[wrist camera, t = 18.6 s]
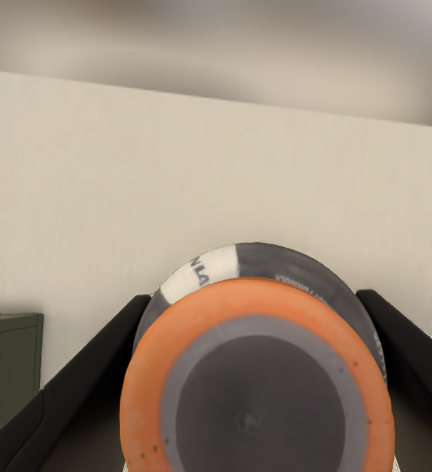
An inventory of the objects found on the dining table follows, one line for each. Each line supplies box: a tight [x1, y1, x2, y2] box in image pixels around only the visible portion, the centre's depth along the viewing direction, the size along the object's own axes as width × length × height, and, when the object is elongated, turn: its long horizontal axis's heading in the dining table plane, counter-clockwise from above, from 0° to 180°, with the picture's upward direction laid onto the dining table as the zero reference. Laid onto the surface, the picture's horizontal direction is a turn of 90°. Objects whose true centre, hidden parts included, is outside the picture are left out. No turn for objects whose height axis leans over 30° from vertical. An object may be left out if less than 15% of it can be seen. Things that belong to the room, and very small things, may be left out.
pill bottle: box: [119, 242, 395, 472], centre depth 10 cm, size 6×6×11 cm
